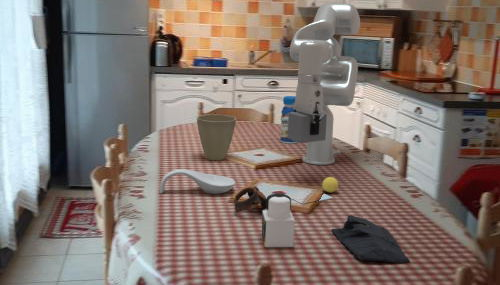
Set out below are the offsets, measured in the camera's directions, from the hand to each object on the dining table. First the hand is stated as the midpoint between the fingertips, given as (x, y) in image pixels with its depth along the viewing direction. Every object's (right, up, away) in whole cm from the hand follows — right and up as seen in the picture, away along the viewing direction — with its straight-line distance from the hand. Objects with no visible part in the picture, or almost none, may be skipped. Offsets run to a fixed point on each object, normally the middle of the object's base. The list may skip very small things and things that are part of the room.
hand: (306, 131), depth 188 cm
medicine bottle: (-12, -28, -49) cm, 58 cm away
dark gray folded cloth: (+10, -30, -49) cm, 58 cm away
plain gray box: (0, -2, +1) cm, 3 cm away
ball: (+7, -17, -9) cm, 20 cm away
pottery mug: (-18, -23, -27) cm, 40 cm away
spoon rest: (-35, -19, -11) cm, 42 cm away
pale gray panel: (-1, -20, -14) cm, 24 cm away
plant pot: (-32, -10, +29) cm, 45 cm away
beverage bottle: (-2, -3, +61) cm, 61 cm away
